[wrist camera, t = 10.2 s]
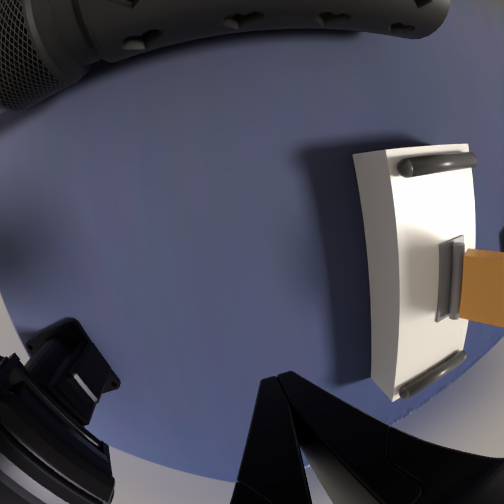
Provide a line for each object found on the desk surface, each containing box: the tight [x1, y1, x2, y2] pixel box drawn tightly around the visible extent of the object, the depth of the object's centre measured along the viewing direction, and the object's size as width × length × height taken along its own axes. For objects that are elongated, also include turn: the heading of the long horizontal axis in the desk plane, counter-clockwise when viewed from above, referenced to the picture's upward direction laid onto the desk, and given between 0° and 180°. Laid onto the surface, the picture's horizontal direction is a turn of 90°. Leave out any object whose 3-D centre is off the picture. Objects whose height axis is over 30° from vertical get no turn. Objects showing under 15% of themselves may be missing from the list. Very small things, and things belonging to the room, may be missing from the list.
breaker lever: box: [449, 242, 504, 327], centre depth 13 cm, size 2×6×9 cm, turn 13°
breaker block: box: [352, 144, 477, 402], centre depth 19 cm, size 9×20×5 cm, turn 13°
